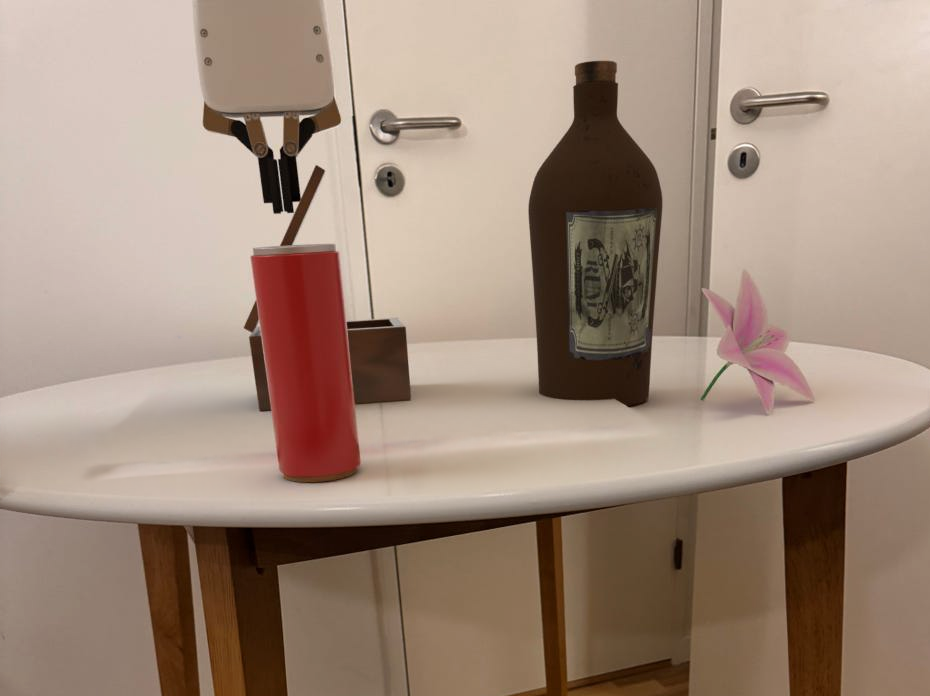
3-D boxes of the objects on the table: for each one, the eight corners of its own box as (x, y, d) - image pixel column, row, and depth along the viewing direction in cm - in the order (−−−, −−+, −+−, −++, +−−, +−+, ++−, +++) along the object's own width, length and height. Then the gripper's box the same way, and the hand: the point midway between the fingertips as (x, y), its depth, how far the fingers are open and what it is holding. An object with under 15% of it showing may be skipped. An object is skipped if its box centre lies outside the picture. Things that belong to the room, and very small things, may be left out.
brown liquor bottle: (518, 395, 84) (509, 75, 74) (628, 385, 86) (635, 72, 76) (553, 416, 75) (549, 52, 65) (676, 405, 77) (691, 50, 67)
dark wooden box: (403, 394, 88) (397, 317, 85) (412, 410, 80) (405, 326, 77) (265, 404, 86) (254, 326, 83) (260, 422, 78) (248, 336, 76)
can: (277, 480, 58) (246, 249, 53) (280, 460, 63) (252, 247, 58) (362, 473, 59) (339, 244, 54) (359, 454, 64) (337, 242, 58)
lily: (687, 436, 71) (758, 321, 65) (627, 356, 78) (687, 248, 73) (799, 463, 77) (874, 360, 71) (734, 386, 84) (796, 288, 78)
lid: (324, 175, 79) (316, 170, 79) (325, 170, 72) (316, 164, 71) (258, 323, 83) (249, 318, 83) (252, 333, 76) (243, 328, 75)
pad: (282, 485, 59) (281, 479, 59) (284, 467, 63) (283, 461, 63) (358, 478, 60) (357, 472, 59) (355, 461, 64) (354, 455, 64)
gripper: (350, -49, 73) (372, 209, 81) (153, -46, 71) (195, 218, 79) (354, -77, 66) (378, 207, 74) (137, -75, 64) (184, 217, 72)
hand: (283, 212), depth 76 cm, fingers closed
